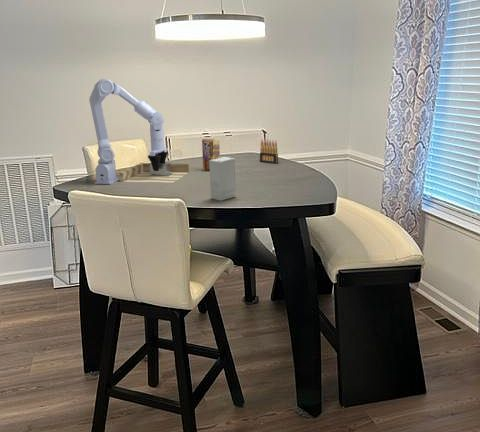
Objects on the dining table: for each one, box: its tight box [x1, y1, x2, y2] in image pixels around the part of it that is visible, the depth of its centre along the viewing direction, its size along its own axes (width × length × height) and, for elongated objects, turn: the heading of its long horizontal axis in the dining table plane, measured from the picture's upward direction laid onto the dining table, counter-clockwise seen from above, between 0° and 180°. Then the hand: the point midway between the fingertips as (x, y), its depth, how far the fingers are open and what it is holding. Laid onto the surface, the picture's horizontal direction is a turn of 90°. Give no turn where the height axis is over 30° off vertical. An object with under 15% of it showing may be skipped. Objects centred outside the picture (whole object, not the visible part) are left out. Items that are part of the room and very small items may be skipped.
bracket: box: [149, 161, 171, 176], centre depth 233 cm, size 8×6×5 cm
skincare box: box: [209, 156, 237, 201], centre depth 189 cm, size 8×6×15 cm
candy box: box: [201, 138, 221, 173], centre depth 242 cm, size 9×4×15 cm, turn 39°
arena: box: [119, 162, 190, 184], centre depth 229 cm, size 24×24×5 cm
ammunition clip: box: [259, 139, 279, 165], centre depth 261 cm, size 11×2×12 cm, turn 49°
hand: (159, 169), depth 232 cm, fingers open, 7 cm apart
